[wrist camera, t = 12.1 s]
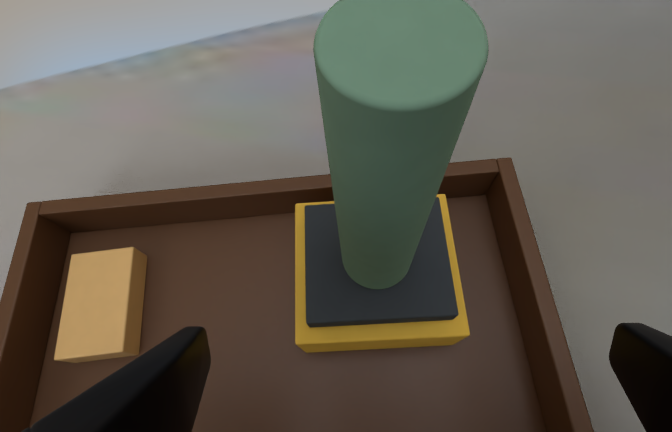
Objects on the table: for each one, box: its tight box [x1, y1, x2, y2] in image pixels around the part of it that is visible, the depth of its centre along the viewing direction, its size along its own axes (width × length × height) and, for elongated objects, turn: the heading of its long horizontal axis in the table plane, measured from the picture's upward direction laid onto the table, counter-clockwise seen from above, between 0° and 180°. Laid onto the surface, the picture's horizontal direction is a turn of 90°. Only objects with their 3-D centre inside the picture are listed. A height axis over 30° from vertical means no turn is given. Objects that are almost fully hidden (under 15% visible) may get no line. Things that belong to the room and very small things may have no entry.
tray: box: [0, 158, 594, 432], centre depth 14 cm, size 19×13×3 cm
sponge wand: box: [295, 0, 488, 353], centre depth 10 cm, size 5×6×12 cm
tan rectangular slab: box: [54, 247, 147, 363], centre depth 16 cm, size 4×2×1 cm, turn 7°
